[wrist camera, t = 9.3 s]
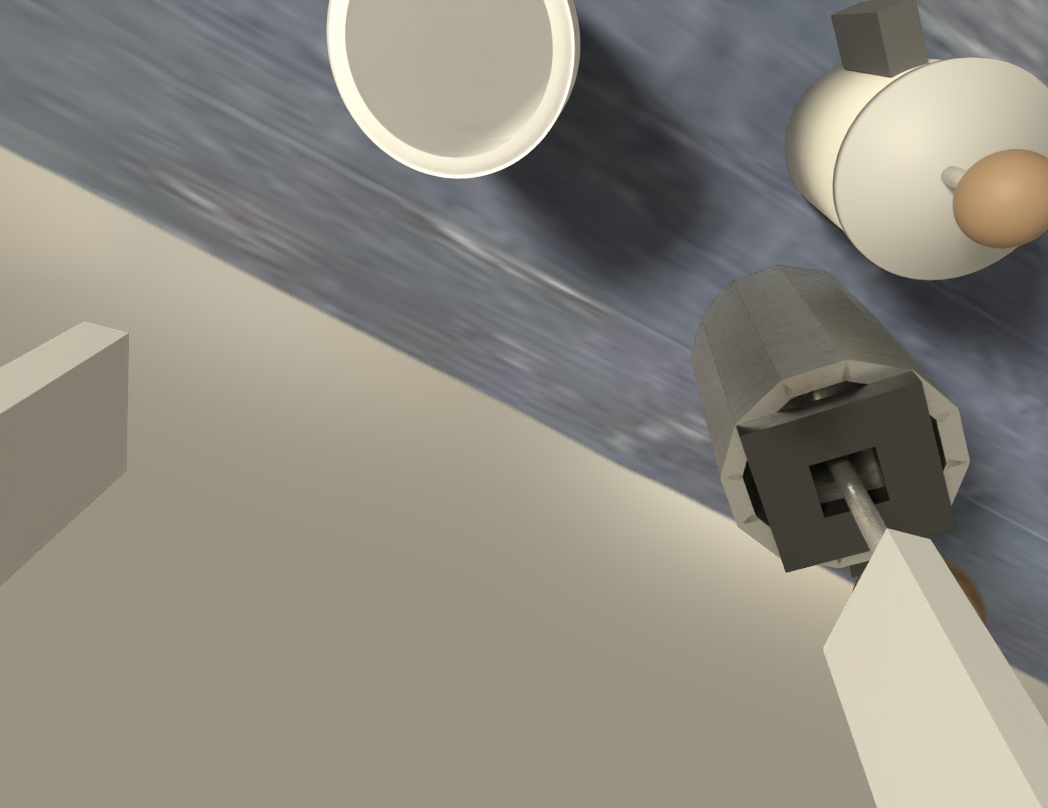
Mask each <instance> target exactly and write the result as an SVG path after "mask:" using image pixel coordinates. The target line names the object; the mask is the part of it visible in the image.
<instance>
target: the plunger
mask: <svg viewBox="0 0 1048 808" xmlns="http://www.w3.org/2000/svg"><path fill="white" fill-rule="evenodd" d="M864 385H867V384H864V383H857V382H851V381H843V382H840V383H837V384H834V385H830V386H827V387H824V388H821V389H818V390H814V391H811V392H808V393H805V394H802V395H798V396H795V397H792V398H791V399H790V400H789V401H788V402H787V403H786V404H785V405H784V406H783V407H782V408H781V409H780V410H779V411H783V410H786V409H789V408H792V407H796V406H799V405H802V404H805V403H809V402H812V401H815V400H818V399H822V398H825V397H828V396H831V395H835V394H838V393H841V392H844V391H848V390H851V389H854V388H857V387H860V386H864ZM779 411H777V412H779ZM826 463H827V465H828V467H829V469H830V471H831V473H832V475H833V477H834V479H835V481H836V483H837V485H838V487H839V489H840V491H841V493H842V495H843V497H844V499H845V501H846V503H847V505H848V507H849V509H850V511H851V513H852V515H853V517H854V519H855V521H856V523H857V525H858V527H859V529H860V531H861V533H862V535H863V537H864V539H865V541H866V543H867V545H868V547H869V549H870V551H871V553H872V555H873V553H874V551H875V549H876V548H877V546H878V544H879V542H880V540H881V538H882V536H883V534H884V533H885V531H886V529H887V527H886V525H885V523H884V521H883V519H882V518H881V516H880V514H879V512H878V510H877V509H876V507H875V505H874V503H873V501H872V500H871V498H870V496H869V494H868V492H867V491H866V489H865V487H864V485H863V483H862V482H861V480H860V478H859V476H858V474H857V473H856V471H855V469H854V467H853V465H852V464H851V462H850V460H849V458H848V456H847V455H845V456H841V457H838V458H834V459H831V460H827V461H826ZM941 557H942V558H943V560H944V562H945V563H946V565H947V566H948V568H949V570H950V571H951V573H952V574H953V576H954V578H955V579H956V581H957V582H958V584H959V586H960V587H961V589H962V590H963V592H964V593H965V595H966V597H967V598H968V600H969V601H970V603H971V605H972V606H973V608H974V609H975V611H976V613H977V614H978V616H979V617H980V619H981V621H982V622H983V624H984V625H985V627H986V628H987V611H986V605H985V602H984V599H983V596H982V594H981V592H980V590H979V588H978V586H977V584H976V583H975V582H974V580H973V579H972V578H971V577H970V575H969V574H968V573H967V572H966V571H965V570H964V569H962V568H961V567H960V566H959V565H958V564H956V563H955V562H953V561H952V560H950V559H948V558H946V557H944V556H942V555H941ZM864 570H865V569H864ZM864 570H863V571H862V573H861V574H860V576H859V577H858V579H857V581H856V583H855V586H854V588H853V591H854V589H855V587H856V585H857V583H858V581H859V580H860V578H861V576H862V574H863V572H864ZM852 593H853V592H852Z"/></svg>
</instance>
